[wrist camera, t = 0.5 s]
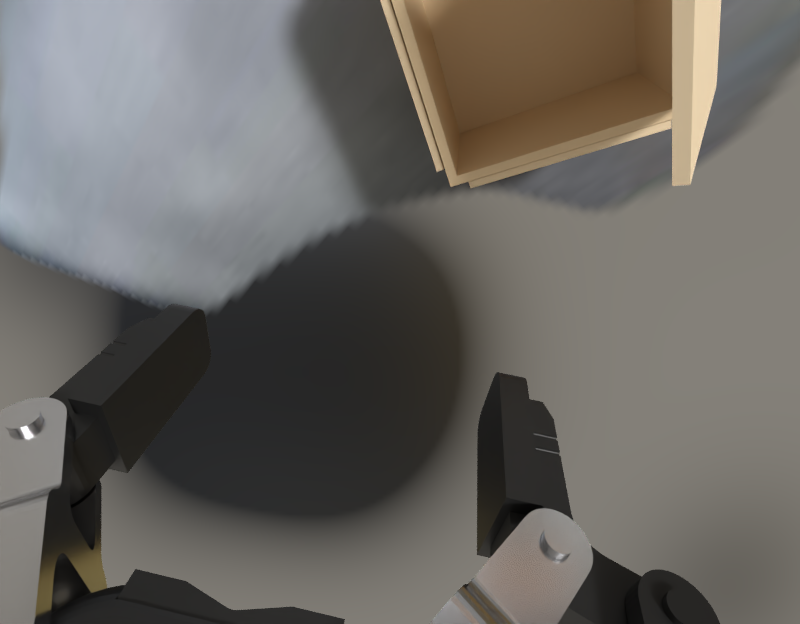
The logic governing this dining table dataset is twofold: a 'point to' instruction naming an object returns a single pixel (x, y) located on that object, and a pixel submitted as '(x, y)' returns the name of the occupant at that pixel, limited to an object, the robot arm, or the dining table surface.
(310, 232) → the dining table surface
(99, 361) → the robot arm
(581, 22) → the carton
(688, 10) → the flap
